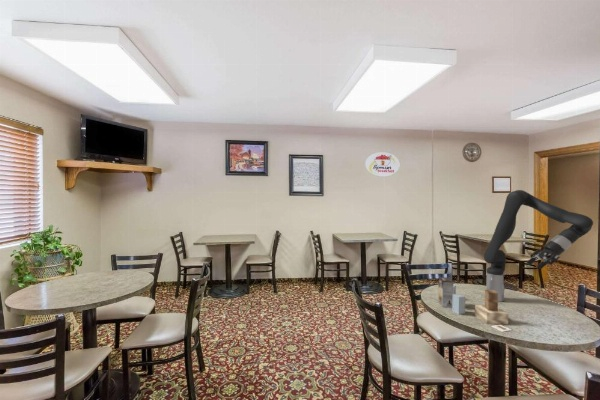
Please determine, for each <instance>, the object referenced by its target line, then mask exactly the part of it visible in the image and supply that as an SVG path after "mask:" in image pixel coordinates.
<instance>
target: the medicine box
mask: <svg viewBox="0 0 600 400" xmlns="http://www.w3.org/2000/svg"><path fill="white" fill-rule="evenodd" d="M454 294H457V286H456V285H455V284H453V295H454Z"/></svg>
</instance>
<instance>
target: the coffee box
mask: <svg viewBox="0 0 600 400" xmlns="http://www.w3.org/2000/svg"><path fill="white" fill-rule="evenodd" d="M453 285H454V281H453V280H452V279H451V278H450V277H441V276H440V277H438V300H437V301H438V304H440V306H441V307H442V308H449V309H451V308H452V304H453Z"/></svg>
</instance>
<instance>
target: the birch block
mask: <svg viewBox="0 0 600 400" xmlns="http://www.w3.org/2000/svg"><path fill="white" fill-rule="evenodd" d="M474 316H475V317H477V318H478V319H479V320H480V321H482V322H484V323H485V324H489V325H490V324H492V325H508V324H509V313H508V312H507V311H504V310H503V309H501V308H499V307H498V311H489V310H487V309H486V308H485V304H475V305H474Z"/></svg>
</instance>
